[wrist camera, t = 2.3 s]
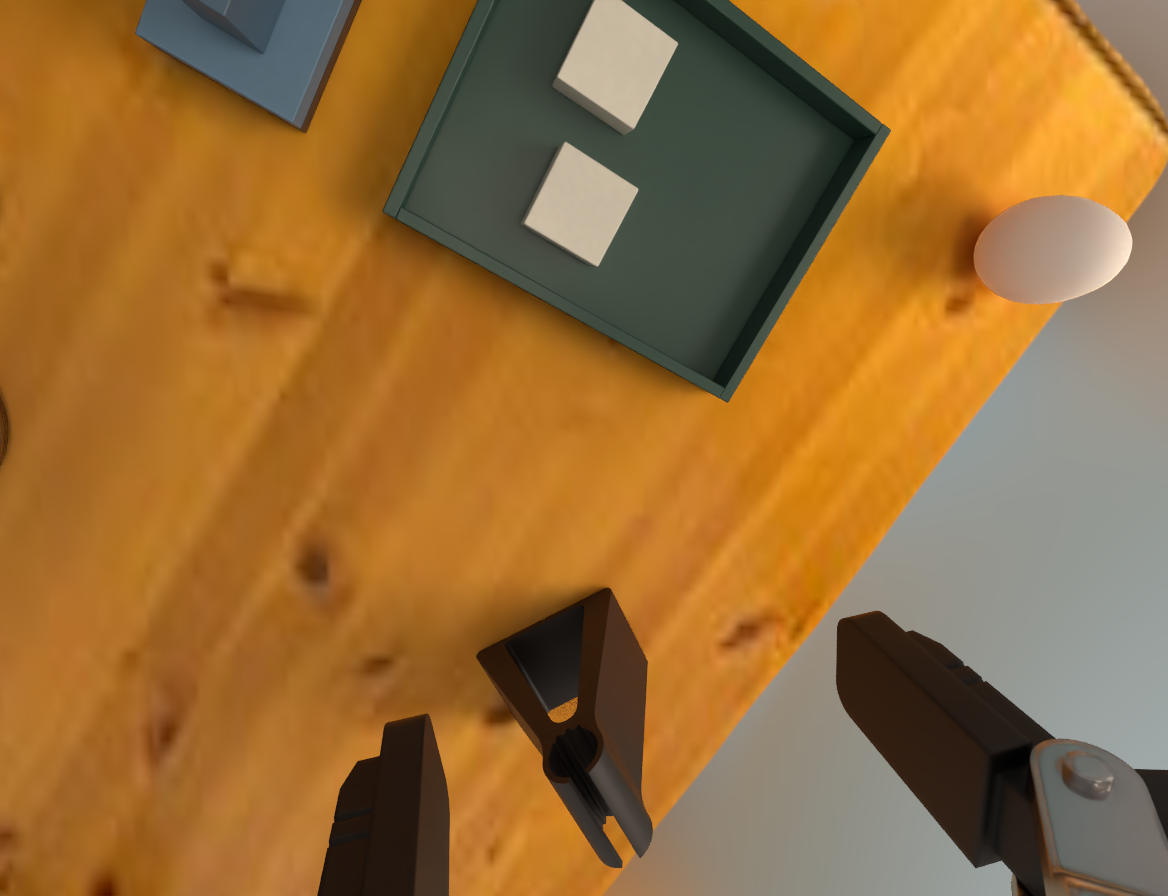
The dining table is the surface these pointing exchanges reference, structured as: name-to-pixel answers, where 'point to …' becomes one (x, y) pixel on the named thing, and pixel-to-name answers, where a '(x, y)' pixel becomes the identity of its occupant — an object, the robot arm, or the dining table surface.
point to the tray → (645, 177)
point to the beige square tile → (579, 205)
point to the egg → (1051, 249)
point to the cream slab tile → (614, 63)
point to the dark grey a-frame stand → (583, 713)
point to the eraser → (256, 46)
